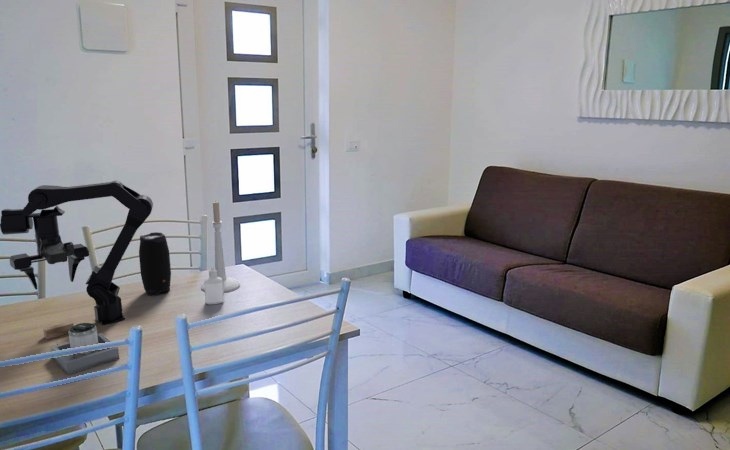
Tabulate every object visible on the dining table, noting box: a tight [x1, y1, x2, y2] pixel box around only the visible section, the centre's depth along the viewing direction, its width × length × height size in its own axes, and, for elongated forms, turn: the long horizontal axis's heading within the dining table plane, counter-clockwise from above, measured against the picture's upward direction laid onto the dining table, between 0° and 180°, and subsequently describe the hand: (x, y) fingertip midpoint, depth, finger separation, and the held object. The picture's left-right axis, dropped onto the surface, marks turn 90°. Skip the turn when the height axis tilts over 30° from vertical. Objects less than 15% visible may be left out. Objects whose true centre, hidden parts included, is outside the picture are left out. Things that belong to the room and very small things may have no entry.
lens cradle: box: [43, 321, 75, 345], centre depth 150 cm, size 7×14×2 cm, turn 44°
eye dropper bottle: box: [203, 265, 225, 305], centre depth 176 cm, size 4×6×12 cm
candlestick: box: [201, 200, 241, 294], centre depth 188 cm, size 13×13×30 cm
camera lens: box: [68, 322, 98, 359], centre depth 140 cm, size 6×6×8 cm
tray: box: [51, 332, 120, 376], centre depth 140 cm, size 12×12×3 cm
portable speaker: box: [138, 231, 172, 296], centre depth 185 cm, size 9×9×20 cm
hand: (54, 285), depth 158 cm, fingers open, 9 cm apart
